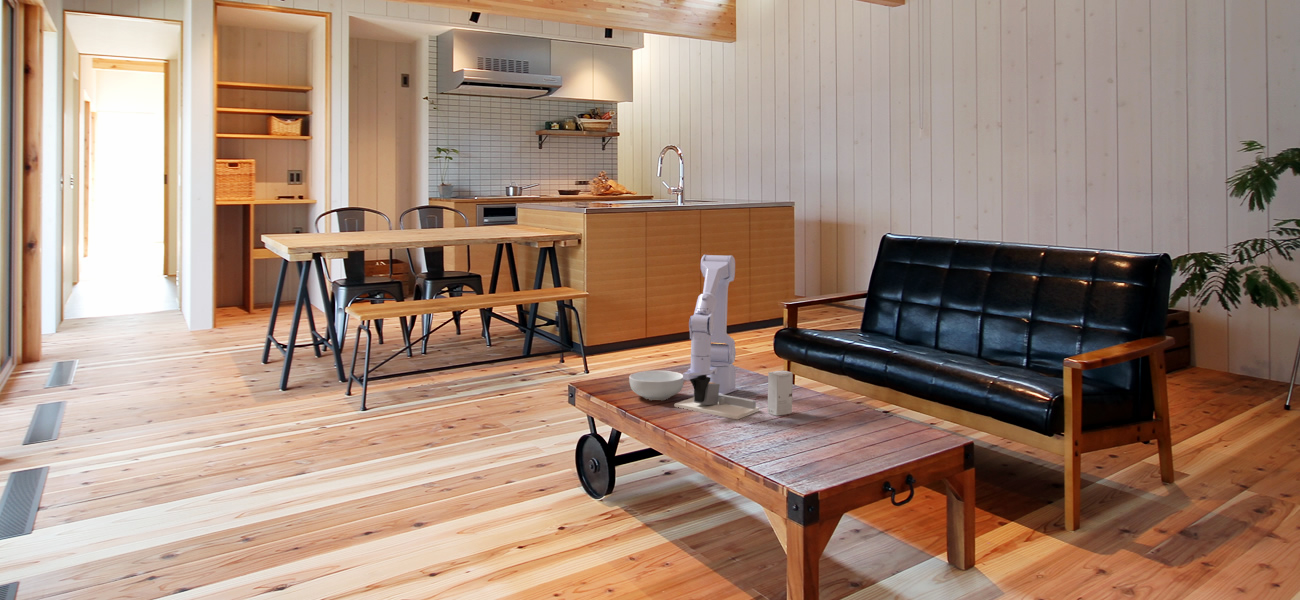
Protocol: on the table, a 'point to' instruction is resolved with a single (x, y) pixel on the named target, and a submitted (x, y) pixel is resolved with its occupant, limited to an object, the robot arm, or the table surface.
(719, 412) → the rail base
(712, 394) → the block
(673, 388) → the cereal bowl
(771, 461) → the table surface
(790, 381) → the skincare box
